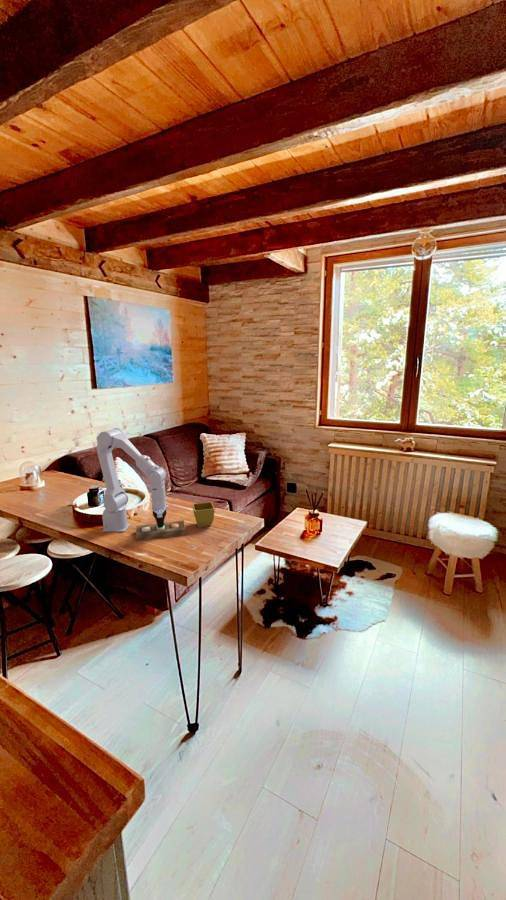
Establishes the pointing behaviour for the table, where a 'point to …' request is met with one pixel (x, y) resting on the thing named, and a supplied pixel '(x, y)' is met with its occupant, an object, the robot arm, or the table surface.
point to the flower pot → (204, 513)
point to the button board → (160, 531)
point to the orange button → (174, 525)
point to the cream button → (145, 529)
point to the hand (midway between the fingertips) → (160, 526)
